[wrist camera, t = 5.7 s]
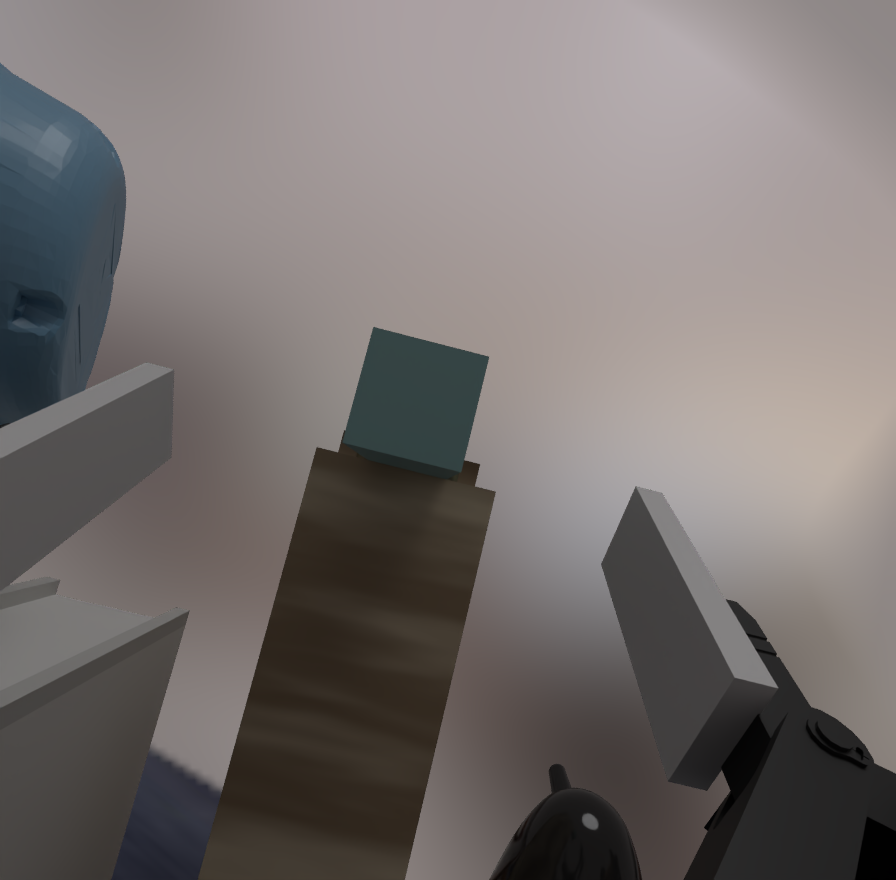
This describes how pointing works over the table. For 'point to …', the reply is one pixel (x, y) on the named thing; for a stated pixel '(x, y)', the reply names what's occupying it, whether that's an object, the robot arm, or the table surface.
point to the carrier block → (74, 726)
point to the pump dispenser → (570, 839)
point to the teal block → (415, 404)
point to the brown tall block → (351, 675)
